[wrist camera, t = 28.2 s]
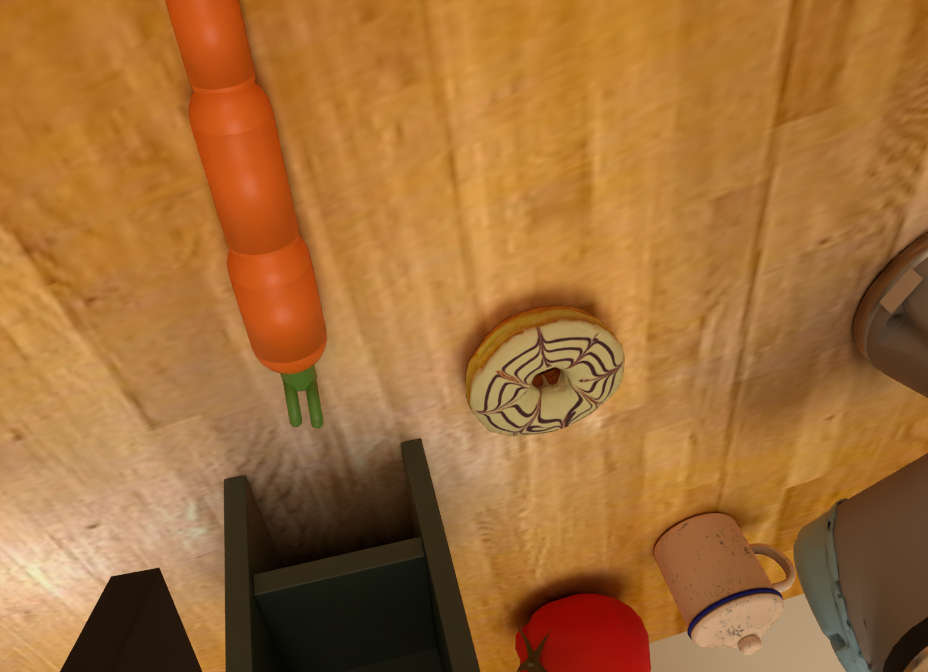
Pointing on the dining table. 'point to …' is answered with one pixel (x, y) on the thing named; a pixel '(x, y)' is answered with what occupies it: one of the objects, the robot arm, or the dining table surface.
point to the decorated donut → (535, 350)
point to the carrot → (252, 197)
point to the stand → (345, 596)
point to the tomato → (584, 637)
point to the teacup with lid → (721, 582)
